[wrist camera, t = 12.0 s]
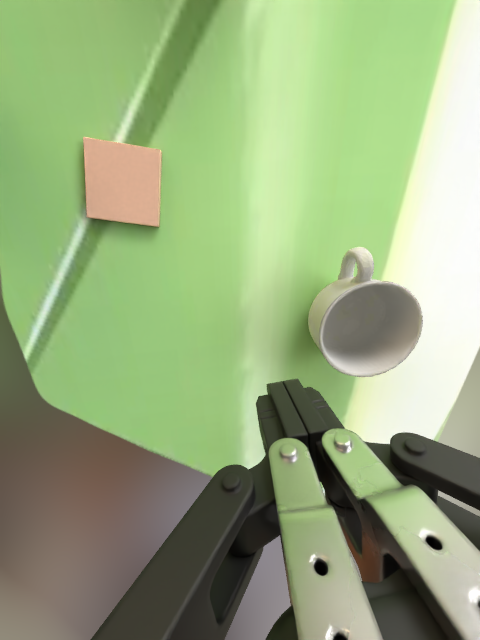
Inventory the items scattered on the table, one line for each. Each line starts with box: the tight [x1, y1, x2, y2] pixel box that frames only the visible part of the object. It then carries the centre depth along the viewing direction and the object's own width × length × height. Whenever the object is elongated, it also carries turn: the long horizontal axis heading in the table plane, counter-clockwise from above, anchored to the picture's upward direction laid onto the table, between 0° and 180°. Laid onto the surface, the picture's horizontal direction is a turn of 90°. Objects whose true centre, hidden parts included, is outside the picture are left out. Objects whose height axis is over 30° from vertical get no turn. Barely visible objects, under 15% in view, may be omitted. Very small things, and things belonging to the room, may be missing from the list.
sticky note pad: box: [83, 137, 162, 227], centre depth 27 cm, size 8×8×1 cm
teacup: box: [308, 247, 423, 377], centre depth 29 cm, size 14×11×8 cm
